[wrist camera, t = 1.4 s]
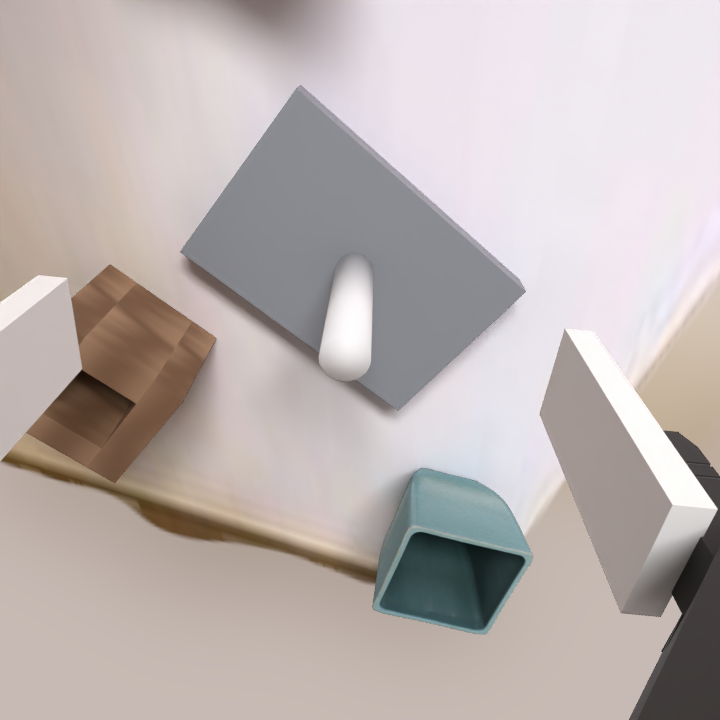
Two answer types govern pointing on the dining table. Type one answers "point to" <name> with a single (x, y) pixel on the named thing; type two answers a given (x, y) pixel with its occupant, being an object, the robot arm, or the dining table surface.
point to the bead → (122, 374)
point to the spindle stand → (350, 255)
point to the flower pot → (450, 554)
